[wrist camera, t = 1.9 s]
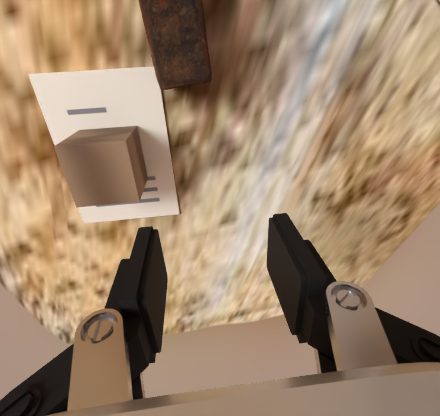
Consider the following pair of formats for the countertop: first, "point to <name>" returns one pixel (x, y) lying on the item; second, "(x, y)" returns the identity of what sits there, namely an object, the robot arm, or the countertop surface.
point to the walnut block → (103, 165)
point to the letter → (114, 117)
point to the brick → (177, 41)
